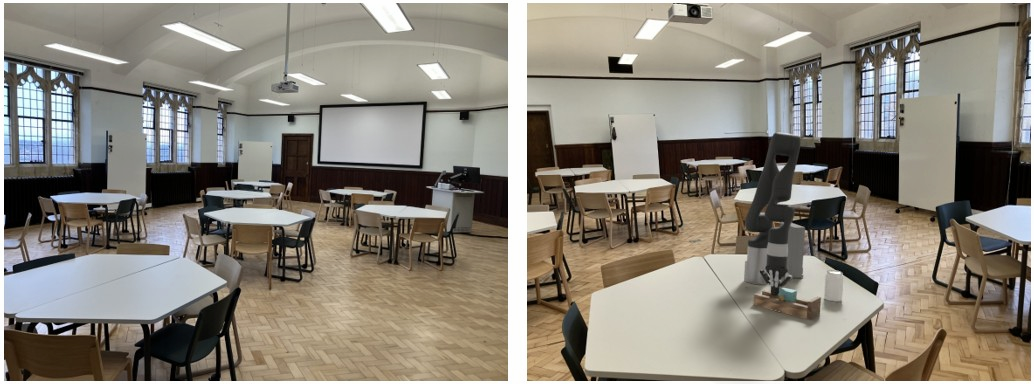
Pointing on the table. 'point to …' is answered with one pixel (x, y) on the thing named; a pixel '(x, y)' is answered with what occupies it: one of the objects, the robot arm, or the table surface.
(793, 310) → the wooden tray
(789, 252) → the tall upright block
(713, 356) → the table surface
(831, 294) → the can
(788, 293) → the rider
